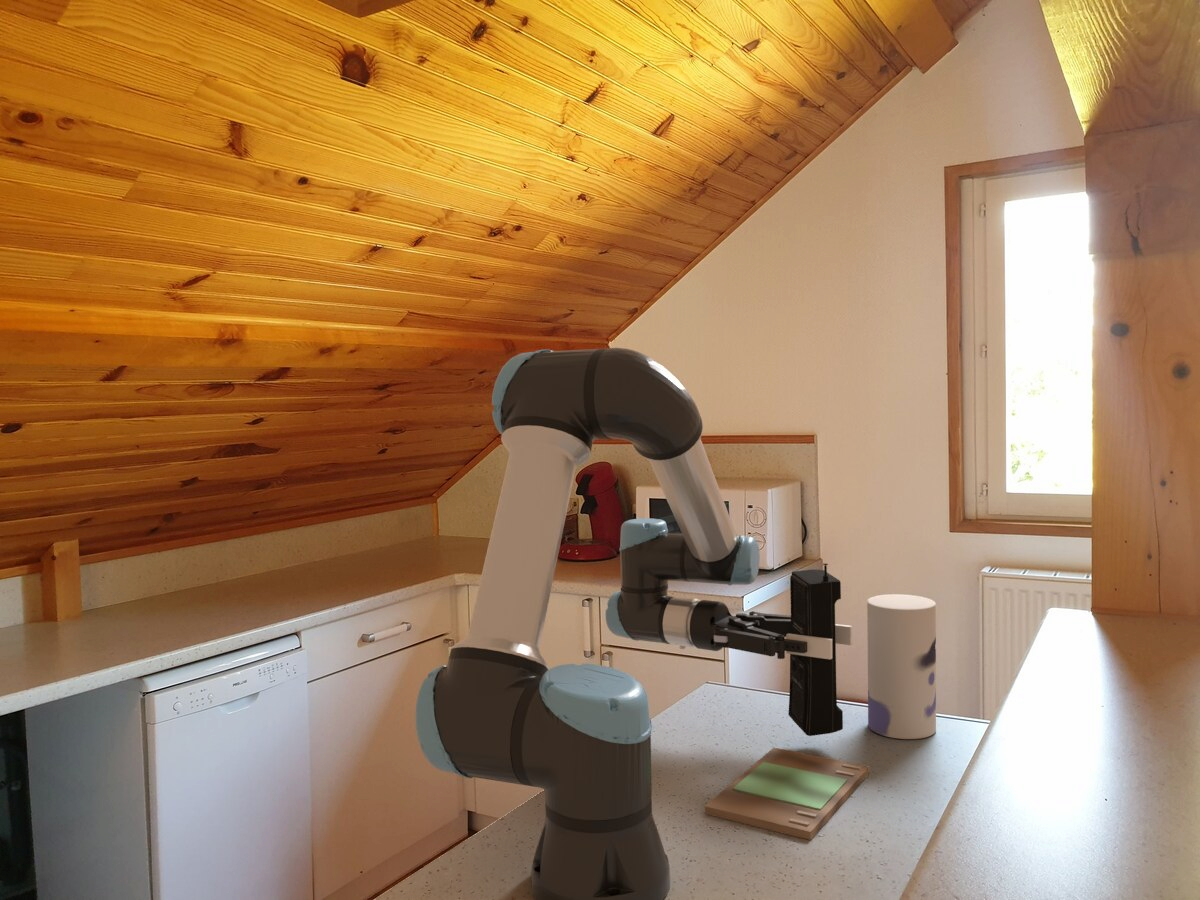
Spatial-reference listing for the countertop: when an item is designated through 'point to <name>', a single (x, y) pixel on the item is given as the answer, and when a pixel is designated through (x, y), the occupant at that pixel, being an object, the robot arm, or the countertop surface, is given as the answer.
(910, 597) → the container
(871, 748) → the countertop surface
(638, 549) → the robot arm
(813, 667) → the portable radio
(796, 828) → the board
